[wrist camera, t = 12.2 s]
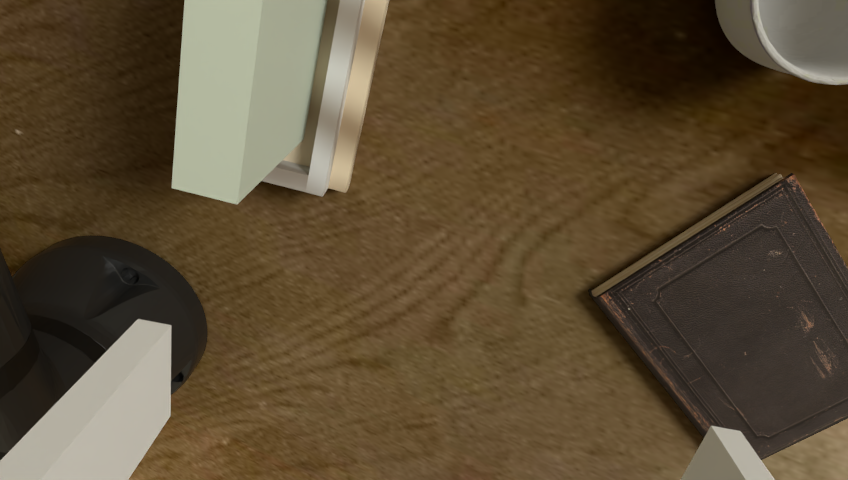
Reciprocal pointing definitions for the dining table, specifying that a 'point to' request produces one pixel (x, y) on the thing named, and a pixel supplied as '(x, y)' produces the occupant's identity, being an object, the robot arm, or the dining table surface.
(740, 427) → the hardcover book
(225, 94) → the door panel
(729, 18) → the teacup
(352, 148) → the door track
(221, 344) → the dining table surface
